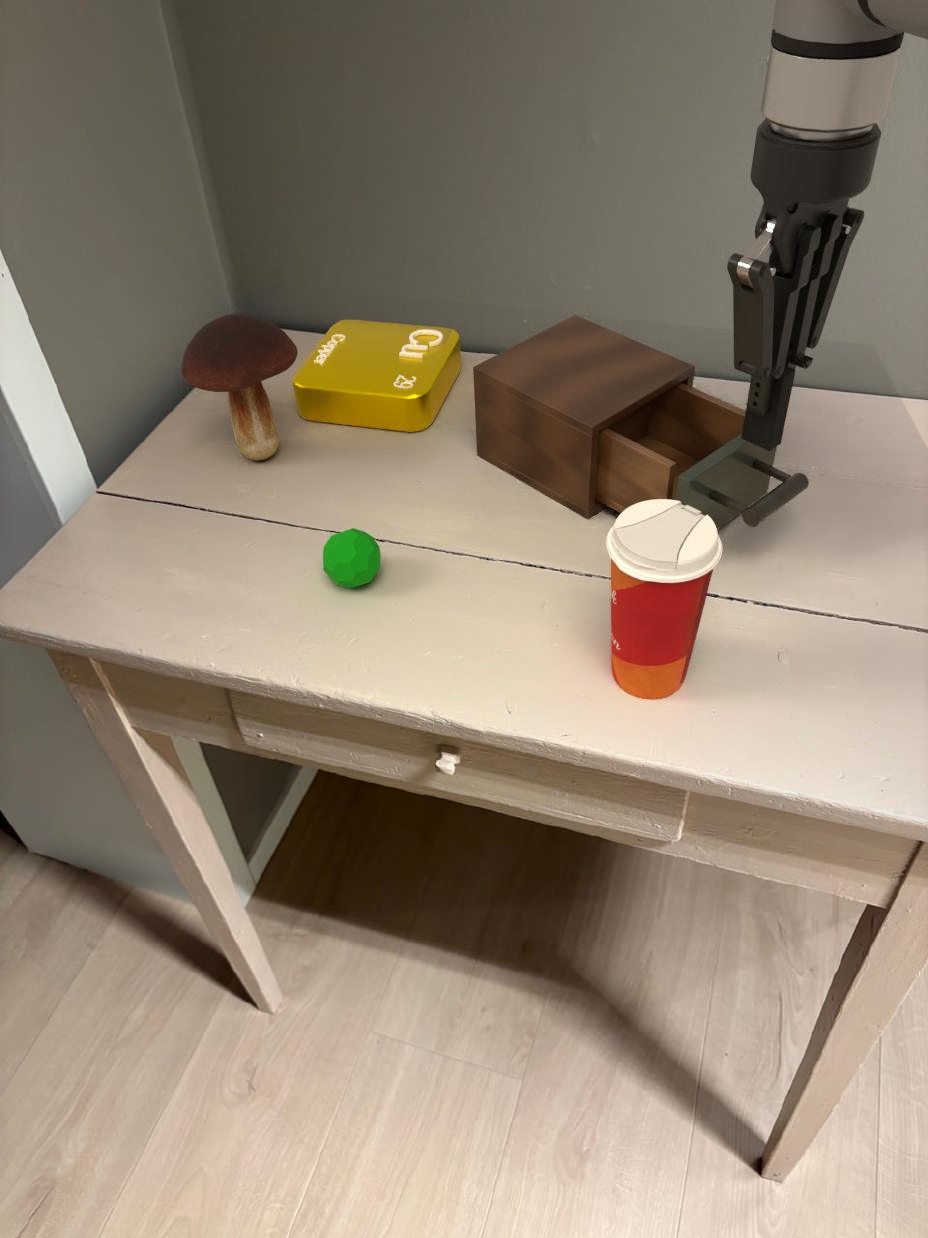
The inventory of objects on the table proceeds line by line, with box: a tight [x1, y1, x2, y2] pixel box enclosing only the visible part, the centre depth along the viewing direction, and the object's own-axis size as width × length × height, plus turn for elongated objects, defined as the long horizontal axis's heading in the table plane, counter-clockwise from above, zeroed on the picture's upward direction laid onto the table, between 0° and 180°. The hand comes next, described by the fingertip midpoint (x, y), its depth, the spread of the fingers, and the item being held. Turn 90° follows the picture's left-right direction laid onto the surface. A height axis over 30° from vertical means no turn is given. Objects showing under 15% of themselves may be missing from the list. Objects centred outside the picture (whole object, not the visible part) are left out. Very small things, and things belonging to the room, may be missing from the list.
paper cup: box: [605, 499, 723, 700], centre depth 68 cm, size 8×8×14 cm
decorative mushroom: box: [180, 313, 299, 462], centre depth 92 cm, size 11×11×15 cm
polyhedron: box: [322, 527, 381, 589], centre depth 81 cm, size 5×5×5 cm
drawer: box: [595, 382, 810, 531], centre depth 84 cm, size 19×13×8 cm
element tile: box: [291, 319, 462, 433], centre depth 103 cm, size 15×15×5 cm
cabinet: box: [472, 314, 696, 520], centre depth 91 cm, size 15×14×10 cm
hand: (760, 440), depth 76 cm, fingers closed
